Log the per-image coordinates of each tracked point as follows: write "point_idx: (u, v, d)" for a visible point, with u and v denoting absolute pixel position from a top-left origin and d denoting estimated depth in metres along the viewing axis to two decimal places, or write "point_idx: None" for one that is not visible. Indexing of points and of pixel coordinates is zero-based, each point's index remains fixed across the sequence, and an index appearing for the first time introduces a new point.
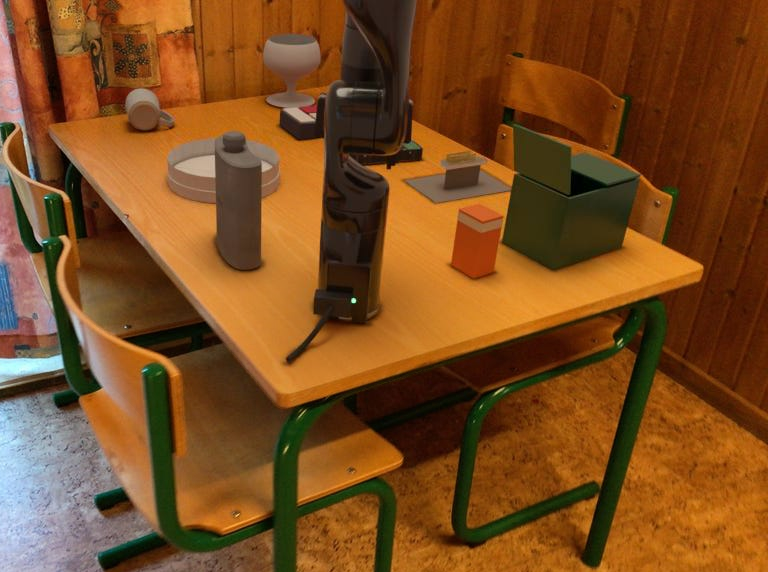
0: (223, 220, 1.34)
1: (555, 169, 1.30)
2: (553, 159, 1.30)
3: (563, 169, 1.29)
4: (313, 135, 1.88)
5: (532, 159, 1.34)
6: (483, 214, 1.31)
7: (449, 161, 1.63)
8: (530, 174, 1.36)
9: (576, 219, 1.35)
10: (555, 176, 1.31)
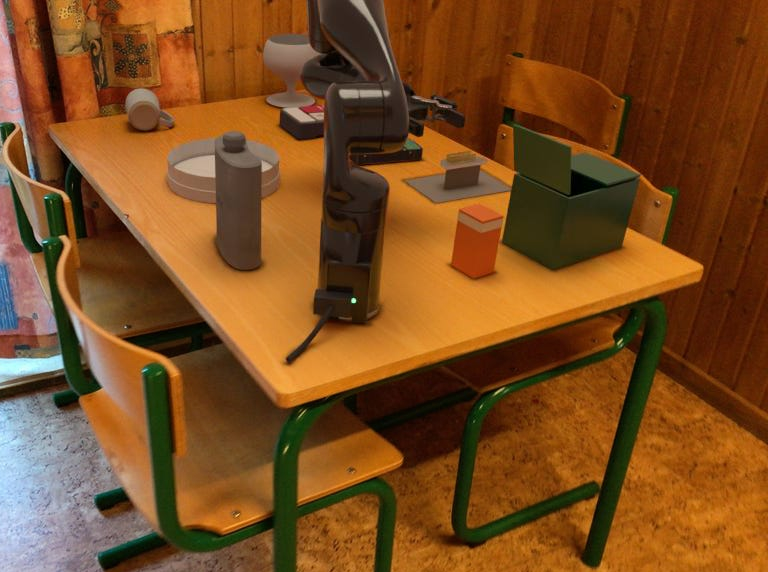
0: (223, 220, 1.34)
1: (555, 169, 1.30)
2: (553, 159, 1.30)
3: (563, 169, 1.29)
4: (313, 135, 1.88)
5: (532, 159, 1.34)
6: (483, 214, 1.31)
7: (449, 161, 1.63)
8: (530, 174, 1.36)
9: (576, 219, 1.35)
10: (555, 176, 1.31)
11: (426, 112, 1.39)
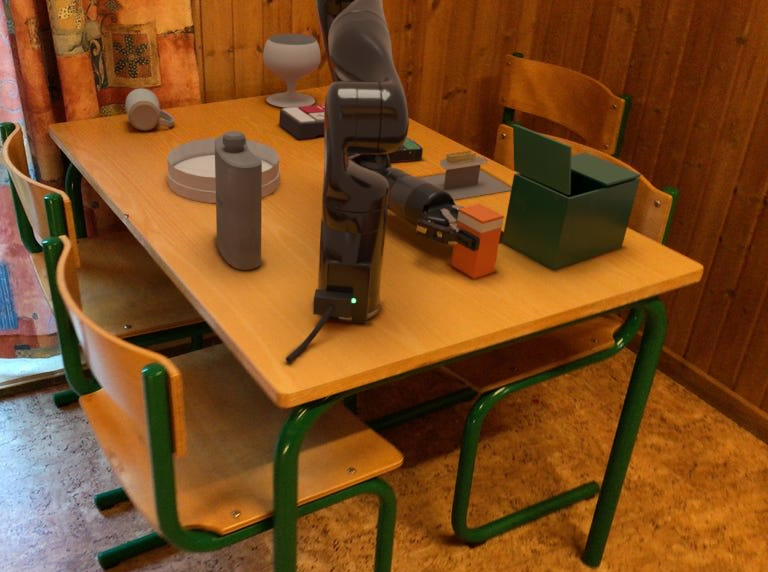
0: (223, 220, 1.34)
1: (555, 169, 1.30)
2: (553, 159, 1.30)
3: (563, 169, 1.29)
4: (313, 135, 1.88)
5: (532, 159, 1.34)
6: (483, 214, 1.31)
7: (449, 161, 1.63)
8: (530, 174, 1.36)
9: (576, 219, 1.35)
10: (555, 176, 1.31)
11: None
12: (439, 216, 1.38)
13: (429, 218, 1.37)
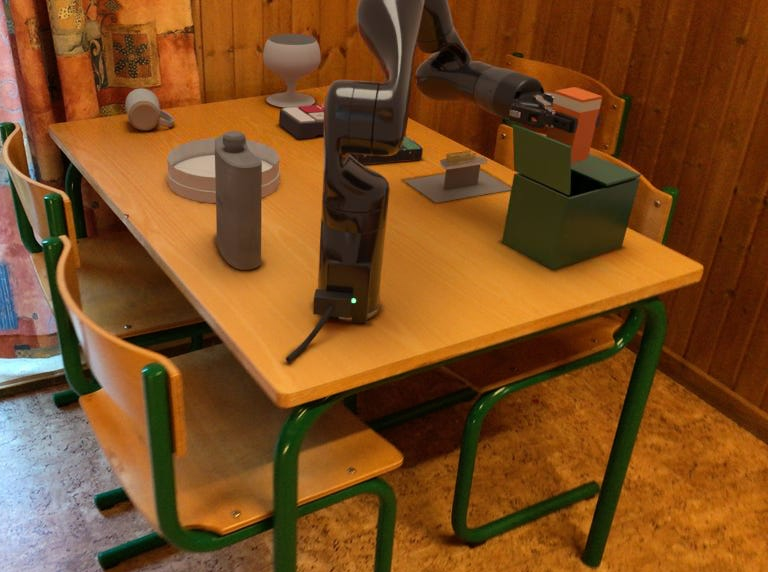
0: (223, 220, 1.34)
1: (555, 169, 1.30)
2: (553, 159, 1.30)
3: (563, 169, 1.29)
4: (313, 135, 1.88)
5: (532, 159, 1.34)
6: (582, 95, 1.29)
7: (449, 161, 1.63)
8: (530, 174, 1.36)
9: (576, 219, 1.35)
10: (555, 176, 1.31)
11: None
12: (532, 102, 1.35)
13: (522, 104, 1.34)
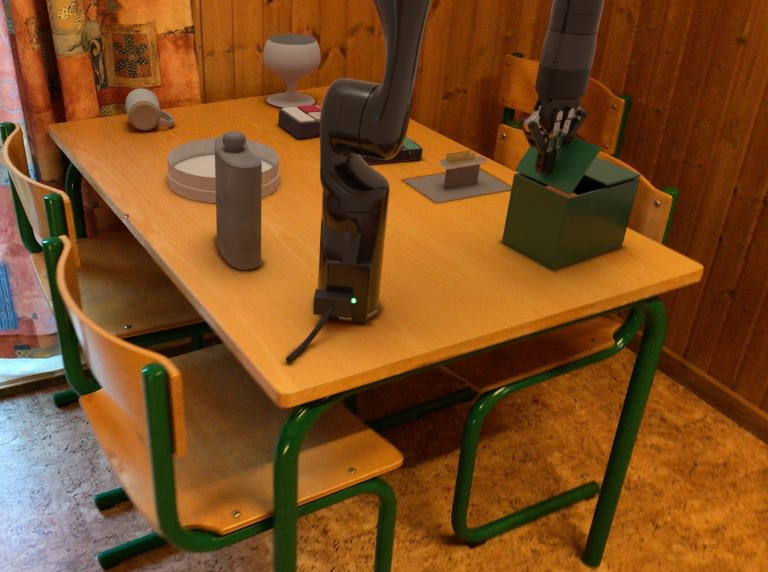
0: (223, 220, 1.34)
1: (569, 168, 1.32)
2: (572, 158, 1.32)
3: (579, 168, 1.31)
4: (312, 134, 1.88)
5: None
6: None
7: (449, 161, 1.63)
8: (533, 173, 1.36)
9: (576, 219, 1.35)
10: (564, 175, 1.32)
11: None
12: (550, 116, 1.27)
13: (543, 115, 1.26)
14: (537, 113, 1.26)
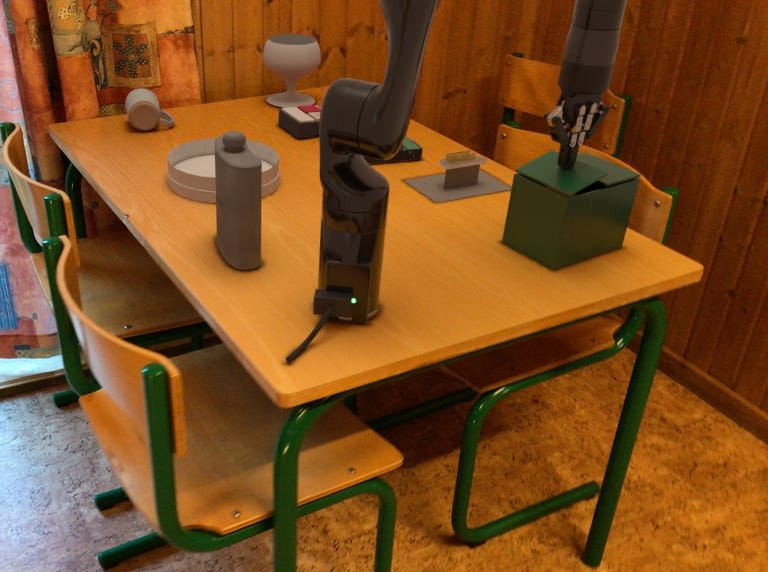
0: (223, 220, 1.34)
1: (572, 178, 1.34)
2: (578, 174, 1.35)
3: (583, 180, 1.33)
4: (312, 134, 1.88)
5: (550, 168, 1.37)
6: None
7: (449, 161, 1.63)
8: (535, 174, 1.37)
9: (576, 219, 1.35)
10: (567, 182, 1.33)
11: None
12: (573, 111, 1.29)
13: (566, 110, 1.29)
14: (560, 108, 1.29)
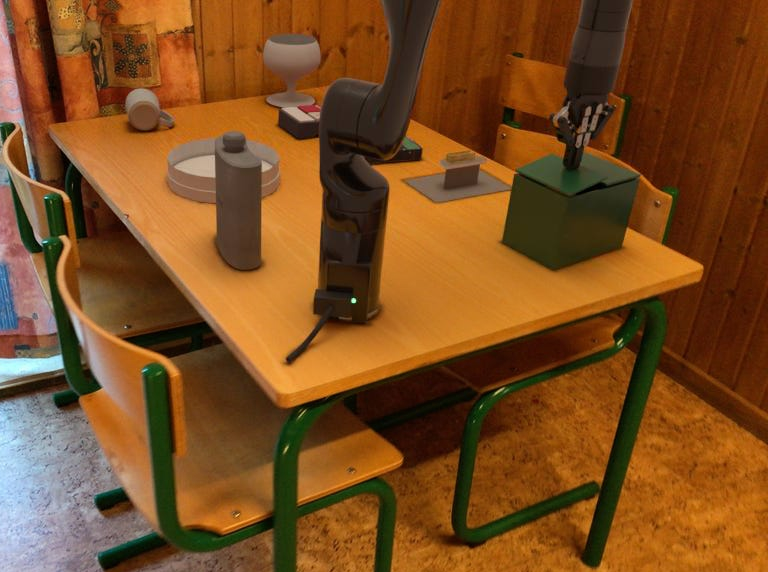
0: (223, 220, 1.34)
1: (572, 180, 1.34)
2: (577, 176, 1.35)
3: (583, 182, 1.33)
4: (312, 134, 1.88)
5: (550, 170, 1.37)
6: None
7: (449, 161, 1.63)
8: (535, 175, 1.37)
9: (576, 219, 1.35)
10: (567, 183, 1.33)
11: None
12: (579, 111, 1.30)
13: (572, 111, 1.29)
14: (566, 109, 1.29)
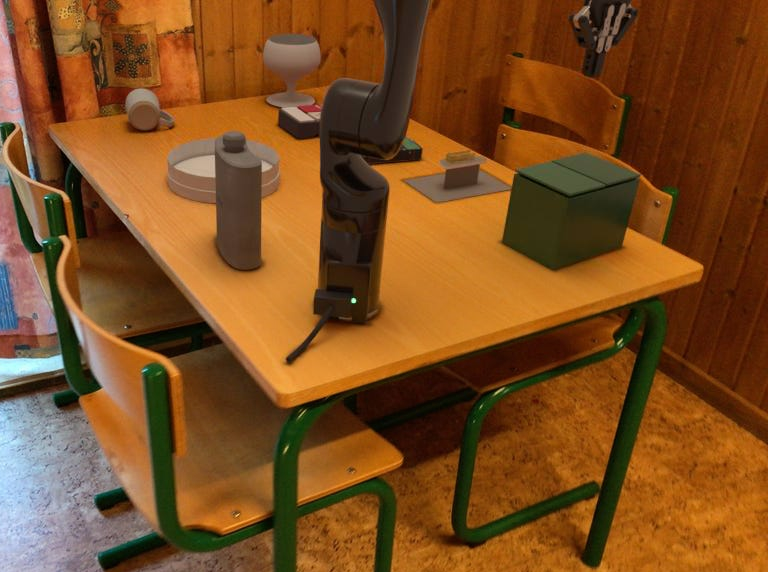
0: (223, 220, 1.34)
1: (572, 184, 1.34)
2: (577, 181, 1.35)
3: (582, 186, 1.33)
4: (312, 134, 1.88)
5: (549, 174, 1.38)
6: None
7: (449, 161, 1.63)
8: (535, 176, 1.37)
9: (576, 219, 1.35)
10: (567, 185, 1.34)
11: None
12: (601, 11, 1.22)
13: (593, 10, 1.21)
14: (587, 7, 1.21)
